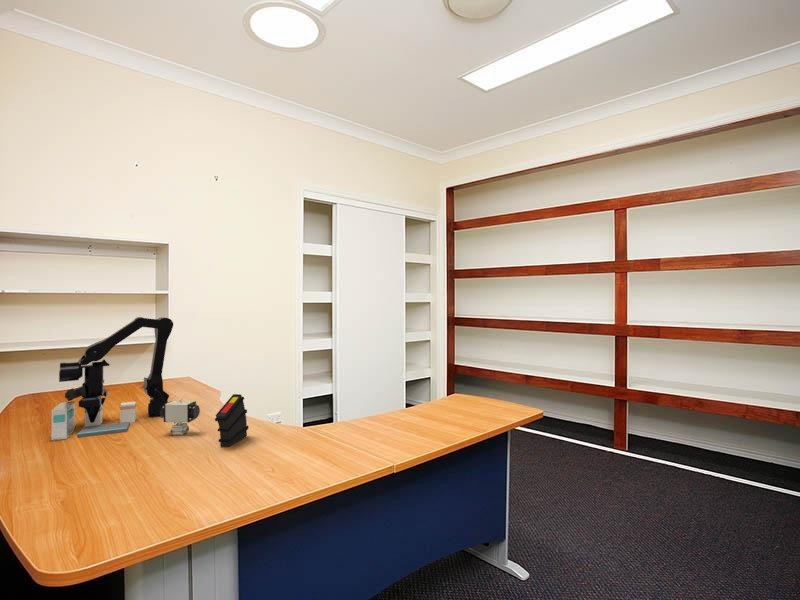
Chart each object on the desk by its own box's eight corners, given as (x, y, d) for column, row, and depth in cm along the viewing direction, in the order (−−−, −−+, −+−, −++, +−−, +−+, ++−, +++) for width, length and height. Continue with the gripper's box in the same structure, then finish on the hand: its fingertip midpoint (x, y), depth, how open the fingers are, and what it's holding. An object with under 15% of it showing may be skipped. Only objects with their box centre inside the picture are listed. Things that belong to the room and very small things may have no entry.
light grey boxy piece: (135, 419, 165) (136, 401, 165) (134, 422, 161) (134, 403, 161) (121, 420, 163) (121, 402, 163) (120, 423, 159) (120, 405, 159)
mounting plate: (129, 424, 158) (129, 421, 158) (126, 431, 149) (126, 428, 149) (83, 429, 152) (83, 426, 152) (77, 437, 143) (77, 433, 143)
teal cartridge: (102, 422, 161) (102, 403, 161) (100, 425, 157) (100, 406, 157) (87, 423, 159) (87, 405, 159) (84, 427, 155) (84, 408, 155)
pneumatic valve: (193, 436, 144) (193, 401, 144) (159, 435, 145) (159, 400, 145) (201, 431, 150) (201, 397, 150) (168, 431, 150) (168, 397, 150)
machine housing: (76, 428, 152) (76, 401, 152) (67, 438, 141) (67, 409, 141) (60, 430, 150) (60, 402, 150) (51, 440, 139) (51, 410, 139)
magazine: (253, 428, 147) (243, 393, 141) (233, 457, 136) (221, 420, 129) (243, 428, 148) (232, 393, 142) (222, 456, 136) (210, 420, 130)
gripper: (72, 376, 163) (72, 417, 162) (60, 385, 146) (60, 430, 146) (107, 374, 168) (107, 413, 168) (99, 382, 151) (99, 425, 151)
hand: (93, 420), depth 158 cm, fingers open, 6 cm apart
